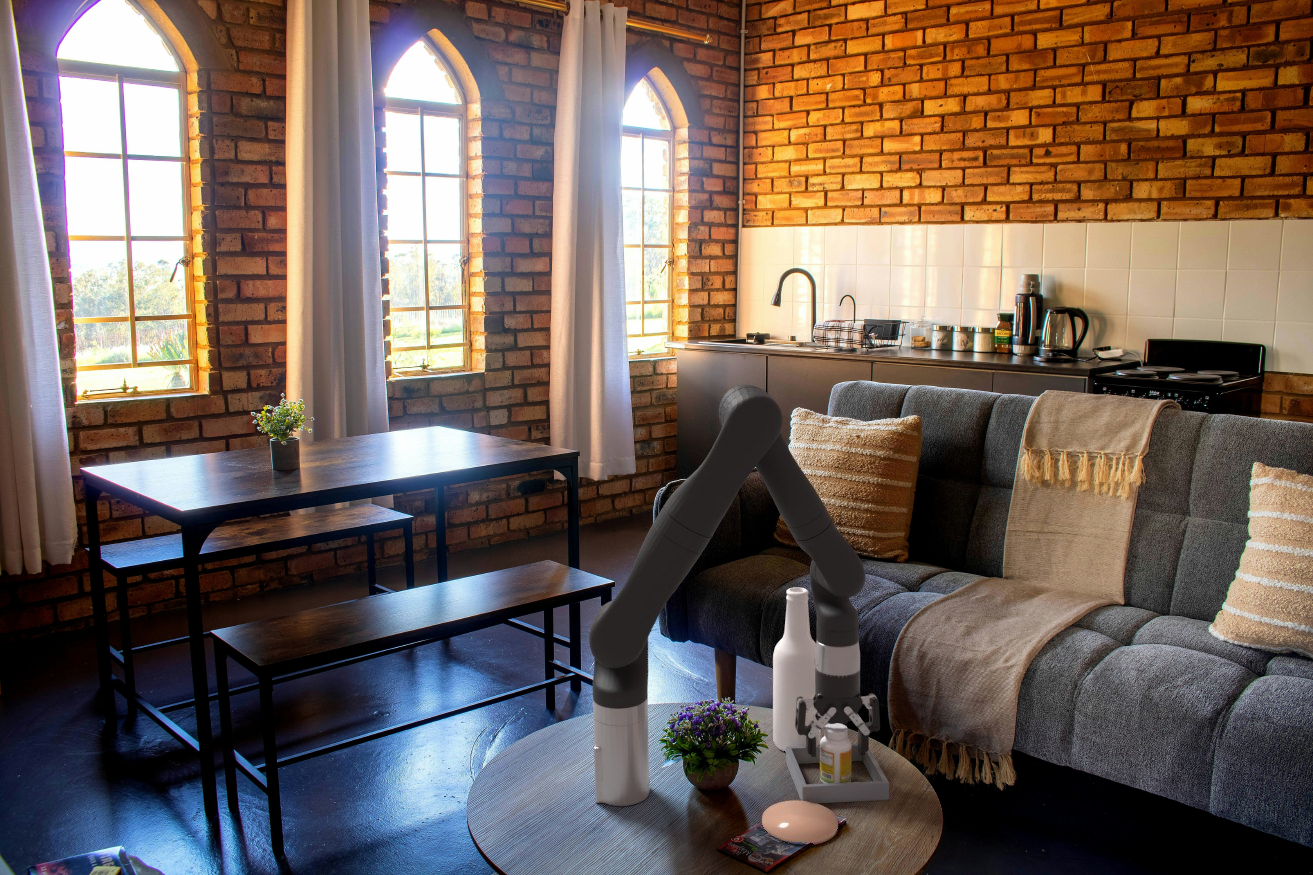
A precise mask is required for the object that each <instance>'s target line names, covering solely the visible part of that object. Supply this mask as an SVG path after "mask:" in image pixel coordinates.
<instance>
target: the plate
mask: <svg viewBox="0 0 1313 875" xmlns="http://www.w3.org/2000/svg"><path fill="white" fill-rule="evenodd" d="M761 825H763V826H762V828H763V827H764V828H763V830H764V829H765V830H766V831H767V832H768V833H770V834H771V835H772V836H775V837H777V838H779V839H781V840H785V841H790V842H791V841H792V842H802V843H805V842H811V843H813V844H814V845H818V844H822V843H824V842H827V841H829V840H831V839H832V838H834V836H836V835H837V832H838V830H839V829H838V828H839V821H838V818H837V815H836V814H835V813H834V811H832V810H831V809H829V808H828V807H826V806H824V805H821V804H820V803H813V802H808V801H801V800H794V799H792V800H785V801H780V802H776V803H775V804H772V805H770V806H768V807H767V808H766V809H765V810H764V811H763V813H762V816H761ZM837 829H838V830H837ZM765 830H764V831H765ZM766 831H765V832H766ZM767 832H766V833H767ZM768 833H767V834H768Z"/></svg>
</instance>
